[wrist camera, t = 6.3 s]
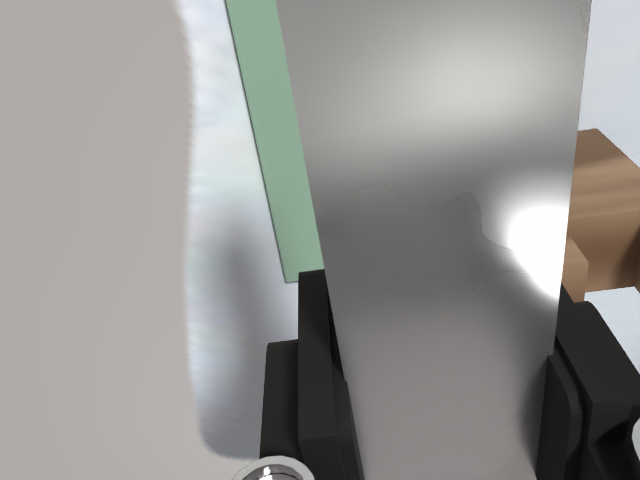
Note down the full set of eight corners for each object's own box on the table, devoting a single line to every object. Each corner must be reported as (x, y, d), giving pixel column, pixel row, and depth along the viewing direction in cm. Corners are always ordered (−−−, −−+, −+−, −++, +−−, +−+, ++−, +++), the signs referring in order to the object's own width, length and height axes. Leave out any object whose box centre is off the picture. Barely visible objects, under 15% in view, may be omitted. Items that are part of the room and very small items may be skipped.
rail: (227, -374, 6) (183, -506, 4) (511, -432, 6) (657, -608, 4) (385, 565, 18) (400, 685, 15) (486, 554, 17) (518, 673, 15)
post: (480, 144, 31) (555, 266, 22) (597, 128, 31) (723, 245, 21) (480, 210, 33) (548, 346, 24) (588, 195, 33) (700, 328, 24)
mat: (164, -294, 21) (162, -297, 21) (413, -341, 21) (415, -344, 20) (286, 278, 35) (286, 282, 35) (437, 259, 35) (438, 263, 35)
